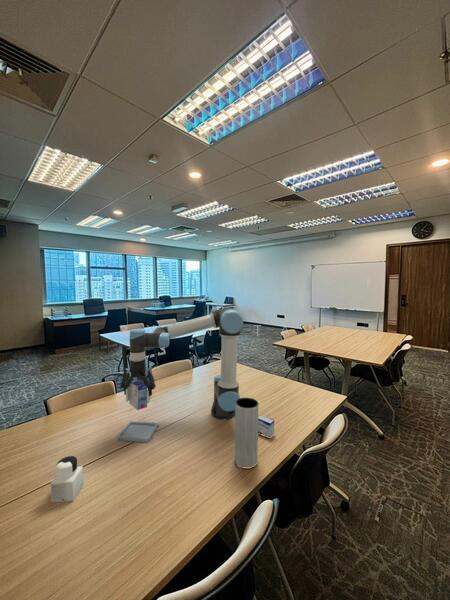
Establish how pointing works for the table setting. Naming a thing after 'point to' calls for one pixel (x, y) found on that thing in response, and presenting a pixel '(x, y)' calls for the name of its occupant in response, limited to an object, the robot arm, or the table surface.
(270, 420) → the box
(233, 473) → the table surface
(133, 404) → the ink cartridge box
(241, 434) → the vase
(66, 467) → the container
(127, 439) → the tray
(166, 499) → the table surface
